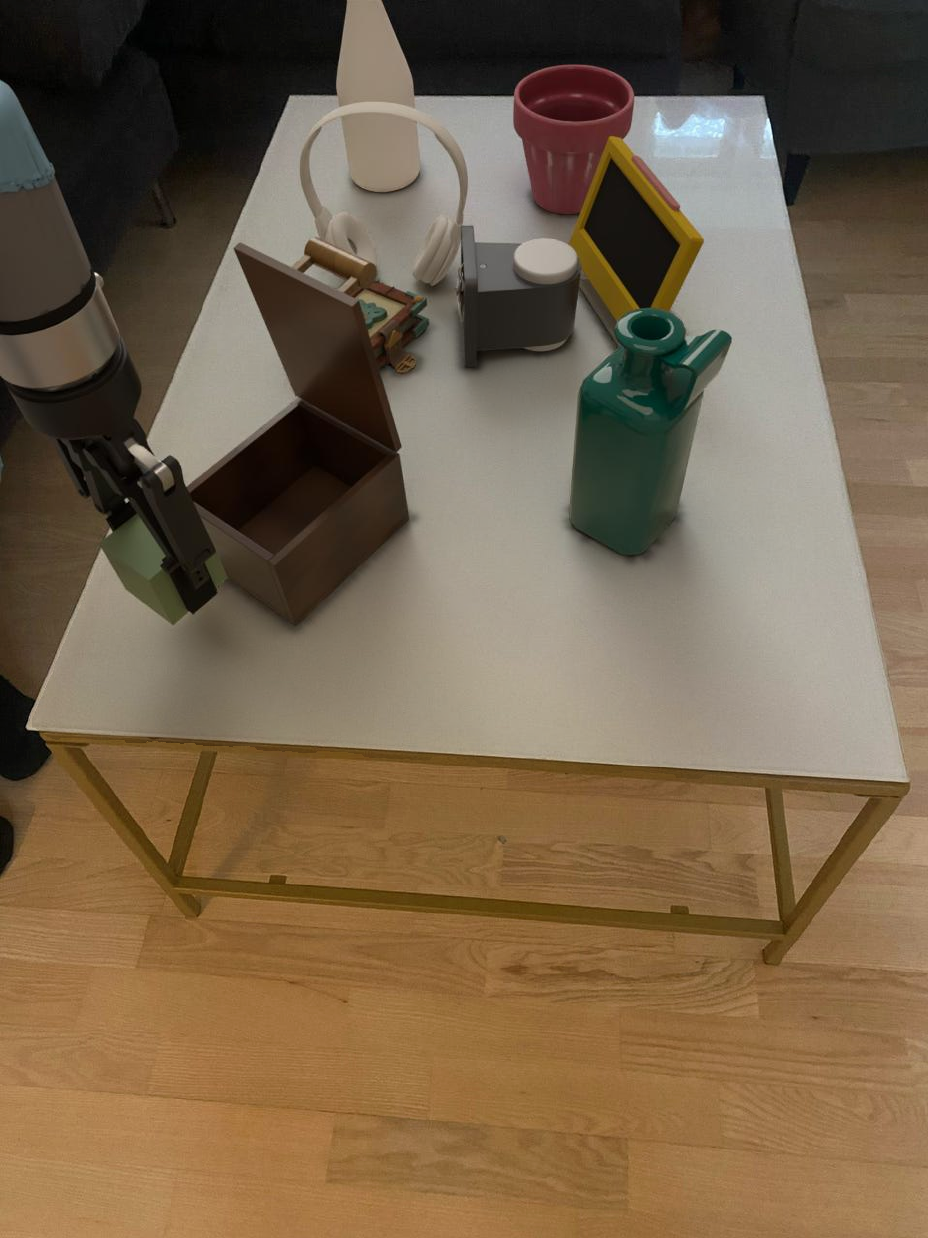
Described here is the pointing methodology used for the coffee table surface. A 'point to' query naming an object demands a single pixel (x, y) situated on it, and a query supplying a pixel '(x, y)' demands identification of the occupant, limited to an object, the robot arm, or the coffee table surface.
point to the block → (149, 568)
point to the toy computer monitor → (631, 238)
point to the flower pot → (569, 129)
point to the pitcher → (640, 428)
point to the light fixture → (516, 294)
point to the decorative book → (391, 322)
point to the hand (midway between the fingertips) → (175, 581)
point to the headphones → (351, 231)
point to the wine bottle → (376, 100)
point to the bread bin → (300, 507)
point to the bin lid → (323, 334)
